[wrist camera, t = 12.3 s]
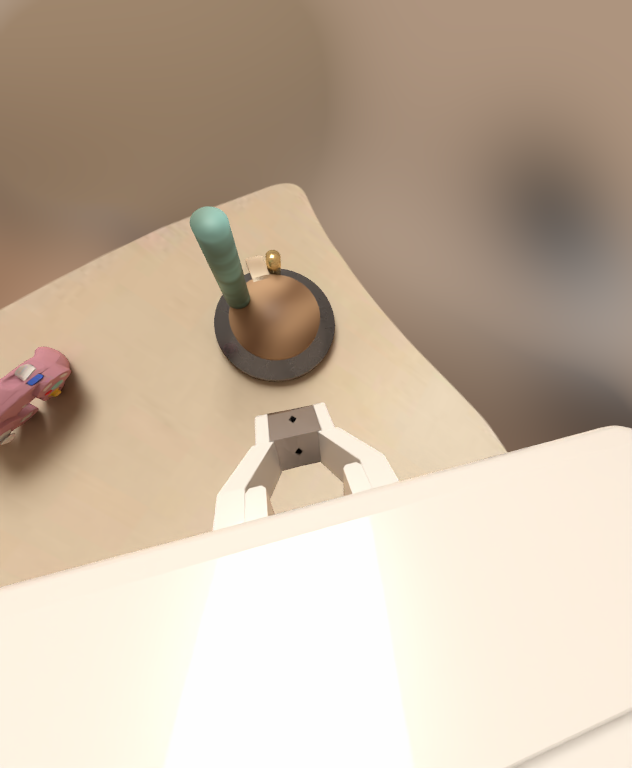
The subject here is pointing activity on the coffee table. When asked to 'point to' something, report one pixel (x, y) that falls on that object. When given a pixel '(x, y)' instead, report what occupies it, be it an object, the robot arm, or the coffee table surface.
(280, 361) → the base plate
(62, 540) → the coffee table surface
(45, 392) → the video game controller
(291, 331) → the teal arcade joystick
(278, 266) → the gold knob
